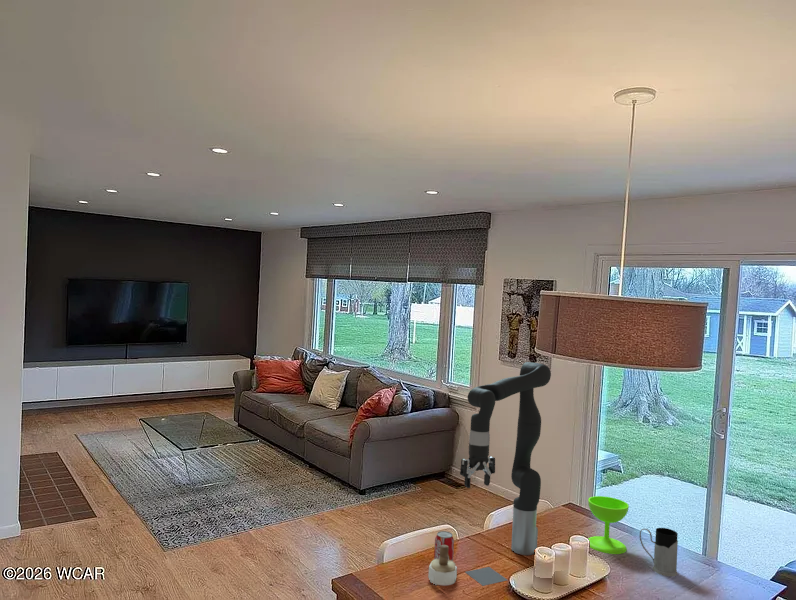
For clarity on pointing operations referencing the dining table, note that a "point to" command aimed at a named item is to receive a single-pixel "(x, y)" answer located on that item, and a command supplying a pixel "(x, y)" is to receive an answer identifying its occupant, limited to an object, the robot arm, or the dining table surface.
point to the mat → (486, 576)
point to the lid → (443, 561)
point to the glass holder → (664, 551)
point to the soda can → (444, 539)
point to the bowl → (442, 576)
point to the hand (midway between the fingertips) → (477, 486)
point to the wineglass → (607, 522)
